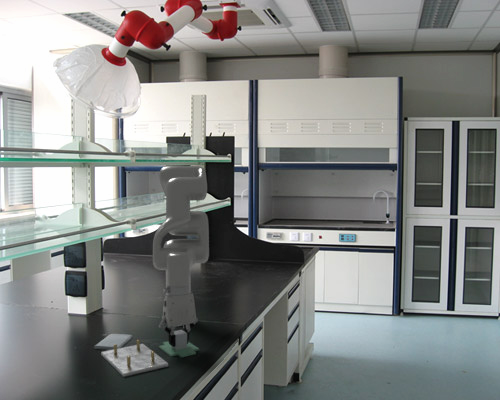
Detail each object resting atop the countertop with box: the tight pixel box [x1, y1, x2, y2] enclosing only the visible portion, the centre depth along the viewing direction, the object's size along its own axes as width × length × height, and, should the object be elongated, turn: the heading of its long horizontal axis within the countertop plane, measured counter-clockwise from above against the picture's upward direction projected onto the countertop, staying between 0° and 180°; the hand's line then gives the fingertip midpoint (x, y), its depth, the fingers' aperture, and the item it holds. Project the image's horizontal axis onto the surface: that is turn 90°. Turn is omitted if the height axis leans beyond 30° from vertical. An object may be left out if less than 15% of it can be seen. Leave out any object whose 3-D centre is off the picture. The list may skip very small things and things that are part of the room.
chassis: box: [100, 339, 169, 378], centre depth 162 cm, size 20×14×4 cm
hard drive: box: [93, 333, 133, 351], centre depth 178 cm, size 2×8×12 cm
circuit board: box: [158, 329, 200, 358], centre depth 172 cm, size 14×10×6 cm
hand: (178, 343), depth 172 cm, fingers closed on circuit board, 4 cm apart
